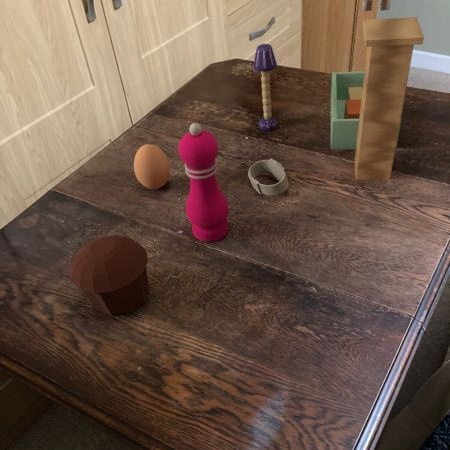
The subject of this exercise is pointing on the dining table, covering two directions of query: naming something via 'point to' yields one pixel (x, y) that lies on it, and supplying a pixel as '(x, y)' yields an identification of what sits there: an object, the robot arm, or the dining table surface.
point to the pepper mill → (203, 185)
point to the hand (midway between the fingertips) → (375, 9)
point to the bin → (344, 128)
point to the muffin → (112, 273)
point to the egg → (151, 166)
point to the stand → (383, 93)
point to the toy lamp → (265, 83)
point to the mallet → (353, 103)
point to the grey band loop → (274, 169)
